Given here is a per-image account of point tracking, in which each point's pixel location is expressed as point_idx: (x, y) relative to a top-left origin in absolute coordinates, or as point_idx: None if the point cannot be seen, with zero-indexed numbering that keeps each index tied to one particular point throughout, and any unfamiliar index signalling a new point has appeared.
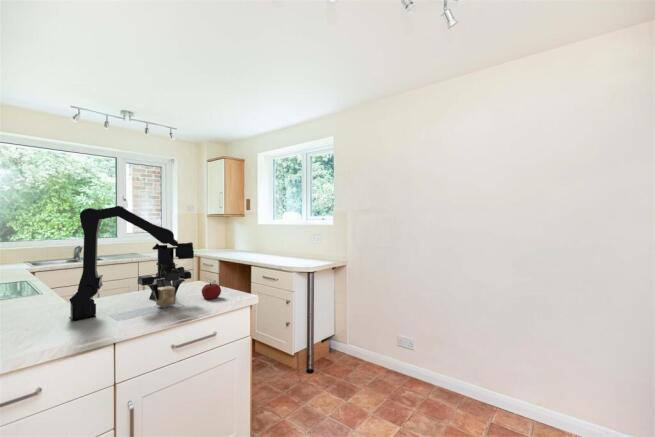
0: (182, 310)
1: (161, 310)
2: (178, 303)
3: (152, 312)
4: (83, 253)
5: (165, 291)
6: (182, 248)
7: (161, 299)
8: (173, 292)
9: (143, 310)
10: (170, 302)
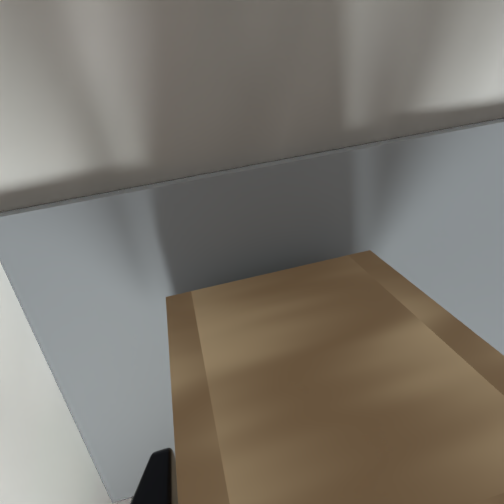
0: (81, 8)
1: (369, 183)
2: (93, 400)
3: (477, 159)
4: None
5: (497, 471)
6: None
7: (445, 311)
8: (227, 473)
9: (491, 309)
10: (248, 302)
